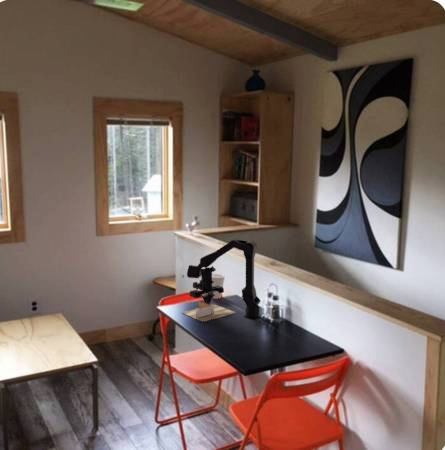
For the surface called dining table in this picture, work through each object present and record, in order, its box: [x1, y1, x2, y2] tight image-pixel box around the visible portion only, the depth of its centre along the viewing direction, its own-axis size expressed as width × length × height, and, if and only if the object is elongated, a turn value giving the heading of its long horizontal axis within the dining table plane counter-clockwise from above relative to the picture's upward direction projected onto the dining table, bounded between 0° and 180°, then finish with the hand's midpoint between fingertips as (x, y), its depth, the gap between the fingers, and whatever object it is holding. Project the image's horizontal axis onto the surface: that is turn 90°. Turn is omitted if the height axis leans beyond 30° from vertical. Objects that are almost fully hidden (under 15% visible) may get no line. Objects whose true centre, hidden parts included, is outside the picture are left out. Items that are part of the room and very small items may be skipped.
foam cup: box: [212, 273, 225, 300], centre depth 307 cm, size 10×9×13 cm
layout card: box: [181, 304, 237, 323], centre depth 278 cm, size 17×24×1 cm
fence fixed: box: [195, 303, 215, 318], centre depth 272 cm, size 2×12×6 cm, turn 132°
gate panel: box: [198, 298, 211, 309], centre depth 280 cm, size 2×9×5 cm, turn 40°
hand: (207, 307), depth 282 cm, fingers closed
